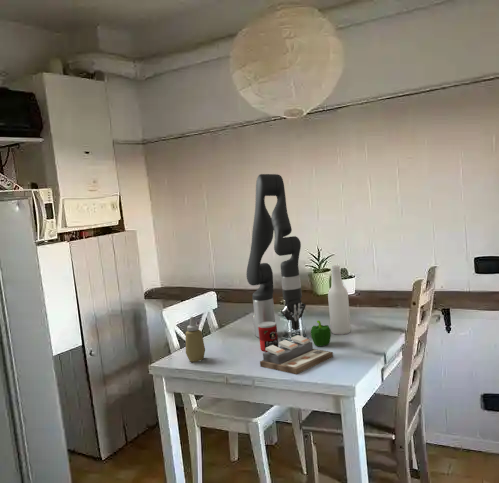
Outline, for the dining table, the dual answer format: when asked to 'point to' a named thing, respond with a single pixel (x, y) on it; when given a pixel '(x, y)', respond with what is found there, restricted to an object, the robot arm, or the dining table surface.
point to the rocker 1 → (275, 350)
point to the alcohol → (338, 304)
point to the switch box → (295, 358)
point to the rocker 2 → (288, 344)
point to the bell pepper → (321, 334)
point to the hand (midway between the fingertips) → (295, 329)
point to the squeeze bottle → (194, 342)
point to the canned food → (267, 335)
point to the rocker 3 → (300, 339)
